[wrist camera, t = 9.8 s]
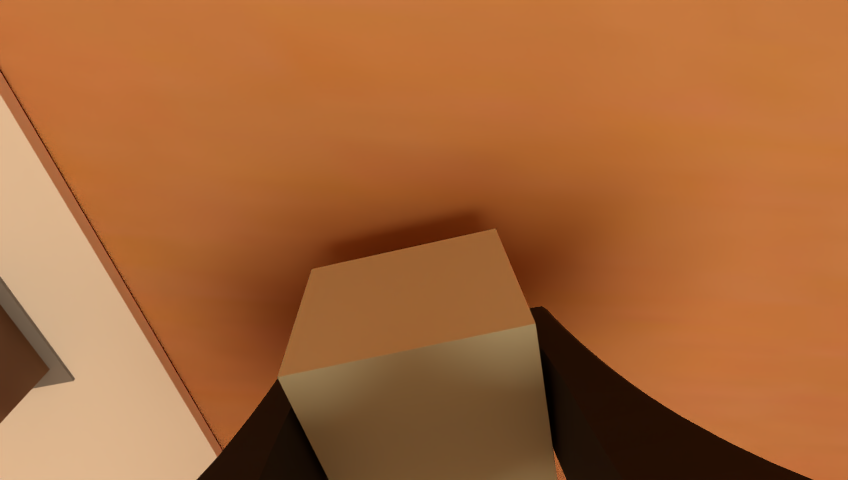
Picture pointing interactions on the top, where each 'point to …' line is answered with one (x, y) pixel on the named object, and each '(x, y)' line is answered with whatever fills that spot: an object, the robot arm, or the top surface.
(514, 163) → the top surface
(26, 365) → the walnut block
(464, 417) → the sage block
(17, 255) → the board
